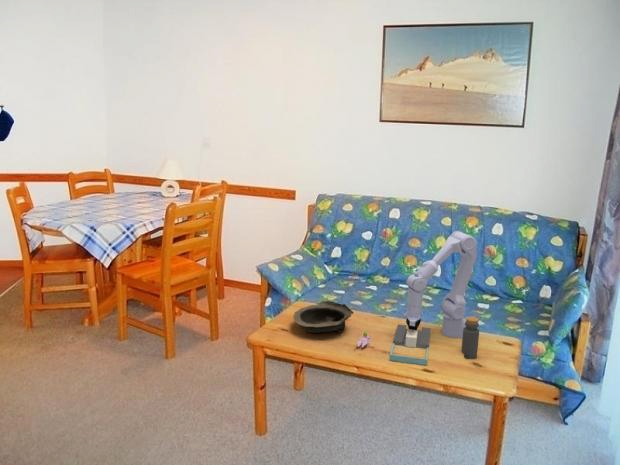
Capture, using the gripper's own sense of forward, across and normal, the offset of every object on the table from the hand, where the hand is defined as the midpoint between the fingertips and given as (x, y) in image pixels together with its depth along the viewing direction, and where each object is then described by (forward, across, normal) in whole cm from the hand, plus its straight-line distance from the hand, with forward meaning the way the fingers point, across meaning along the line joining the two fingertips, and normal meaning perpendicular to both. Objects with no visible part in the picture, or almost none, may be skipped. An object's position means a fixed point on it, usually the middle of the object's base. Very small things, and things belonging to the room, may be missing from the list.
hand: (412, 336), depth 221 cm
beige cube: (0, +8, 0) cm, 8 cm away
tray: (+2, +15, 0) cm, 15 cm away
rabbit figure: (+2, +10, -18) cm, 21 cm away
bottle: (+2, +7, +22) cm, 23 cm away
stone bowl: (+2, -1, -38) cm, 38 cm away
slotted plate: (+2, 0, 0) cm, 2 cm away
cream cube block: (0, +4, 0) cm, 4 cm away
